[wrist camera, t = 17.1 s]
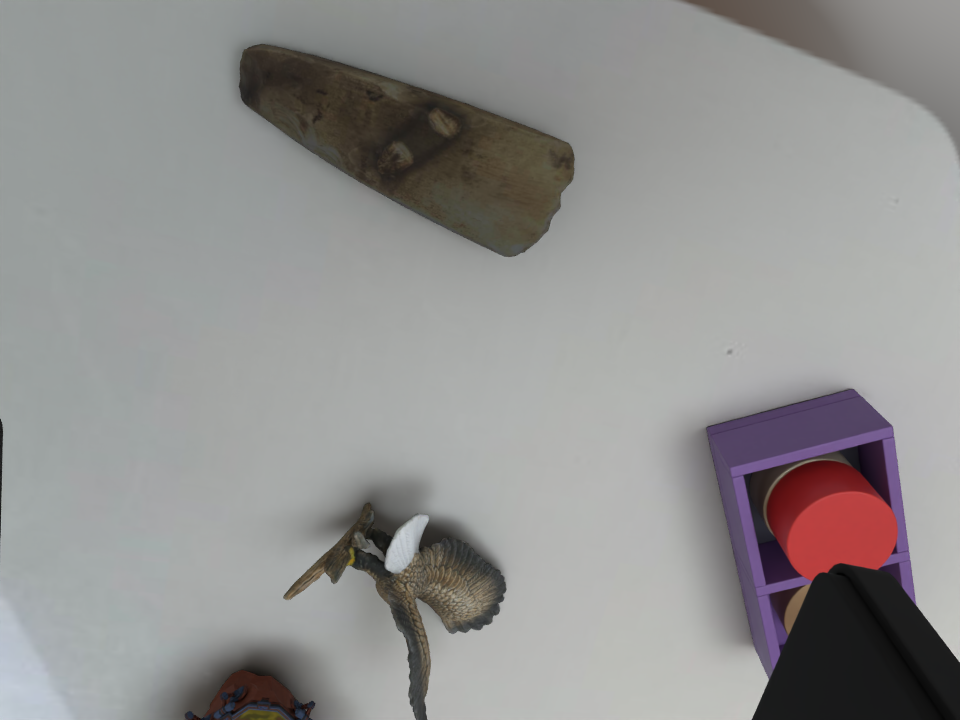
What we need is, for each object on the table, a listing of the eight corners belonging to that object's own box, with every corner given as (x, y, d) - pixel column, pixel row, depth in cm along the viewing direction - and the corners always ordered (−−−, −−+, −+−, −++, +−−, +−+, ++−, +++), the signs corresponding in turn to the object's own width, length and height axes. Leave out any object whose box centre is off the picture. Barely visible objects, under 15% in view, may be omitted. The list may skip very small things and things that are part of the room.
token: (788, 540, 40) (804, 566, 38) (877, 558, 40) (897, 584, 38) (757, 617, 41) (770, 645, 39) (842, 633, 42) (860, 661, 40)
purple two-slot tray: (705, 426, 38) (729, 468, 35) (853, 388, 38) (893, 426, 34) (754, 647, 43) (779, 703, 39) (886, 615, 42) (925, 669, 39)
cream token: (768, 428, 37) (784, 450, 35) (863, 447, 38) (883, 470, 36) (735, 514, 39) (749, 539, 37) (827, 531, 39) (845, 557, 37)
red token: (786, 450, 35) (809, 481, 33) (886, 470, 36) (916, 502, 33) (751, 539, 37) (771, 576, 35) (847, 557, 37) (873, 594, 35)
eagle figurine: (274, 586, 40) (405, 721, 41) (287, 604, 33) (445, 765, 34) (390, 470, 42) (513, 599, 43) (425, 465, 36) (569, 618, 36)
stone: (580, 144, 34) (586, 151, 32) (533, 259, 35) (536, 273, 33) (259, 17, 32) (243, 16, 30) (225, 145, 34) (208, 152, 32)
